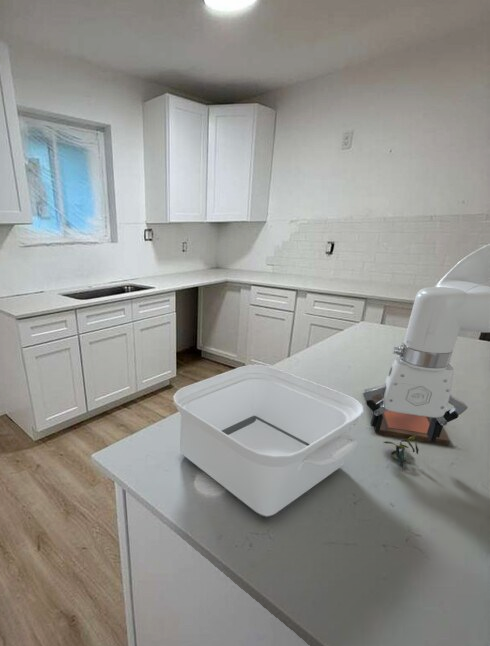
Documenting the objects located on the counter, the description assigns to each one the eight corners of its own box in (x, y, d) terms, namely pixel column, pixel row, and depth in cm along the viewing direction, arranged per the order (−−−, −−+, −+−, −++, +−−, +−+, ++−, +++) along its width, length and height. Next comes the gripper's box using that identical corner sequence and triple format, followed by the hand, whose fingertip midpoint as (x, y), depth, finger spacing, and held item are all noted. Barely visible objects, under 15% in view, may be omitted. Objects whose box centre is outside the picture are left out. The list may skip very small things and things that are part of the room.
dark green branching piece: (415, 472, 71) (423, 444, 69) (379, 462, 74) (386, 436, 72) (413, 450, 78) (421, 424, 75) (380, 442, 80) (387, 417, 78)
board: (426, 403, 96) (427, 398, 95) (448, 445, 79) (450, 440, 78) (367, 395, 101) (367, 391, 100) (376, 433, 84) (377, 428, 83)
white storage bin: (156, 449, 81) (153, 390, 75) (244, 409, 96) (248, 357, 90) (282, 554, 55) (293, 477, 49) (376, 477, 70) (393, 411, 64)
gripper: (374, 357, 67) (356, 435, 73) (491, 369, 61) (459, 453, 67) (370, 344, 73) (354, 417, 80) (474, 354, 67) (447, 432, 74)
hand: (402, 433), depth 74 cm, fingers open, 9 cm apart
